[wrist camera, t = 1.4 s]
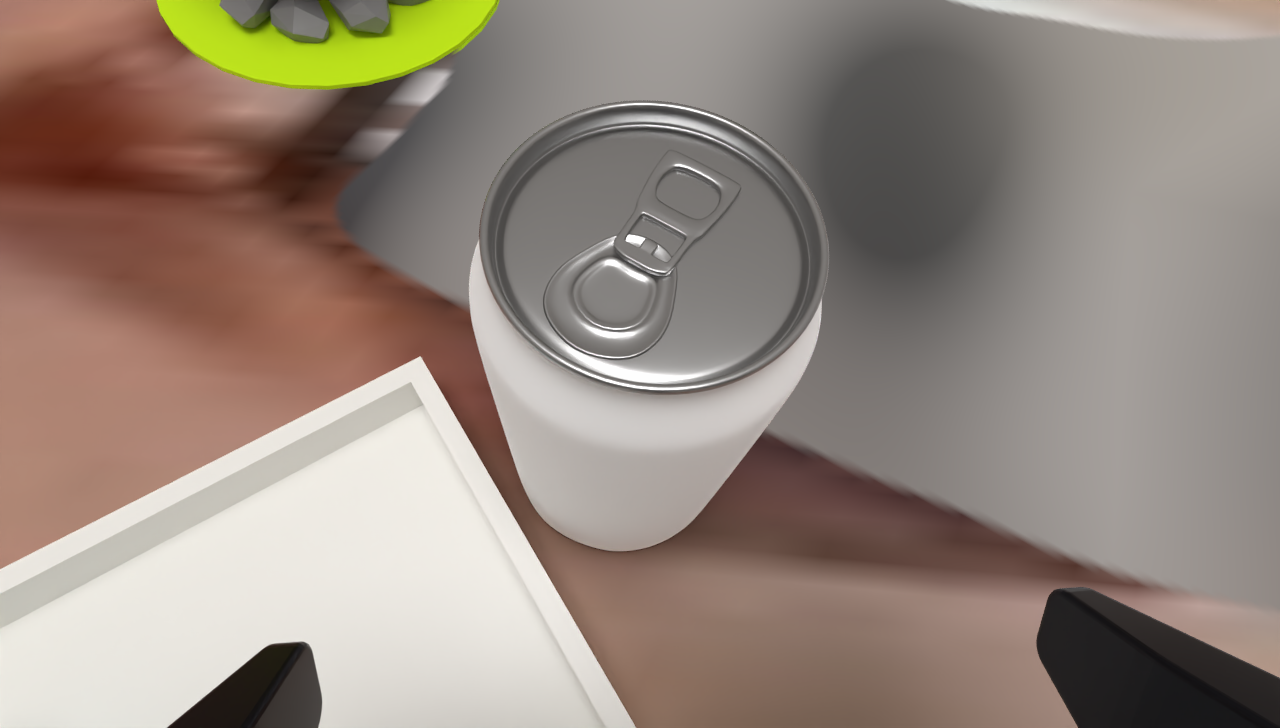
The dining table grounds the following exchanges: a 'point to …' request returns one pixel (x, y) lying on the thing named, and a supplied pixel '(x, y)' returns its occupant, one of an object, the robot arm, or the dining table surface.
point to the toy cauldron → (324, 37)
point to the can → (642, 311)
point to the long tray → (308, 586)
